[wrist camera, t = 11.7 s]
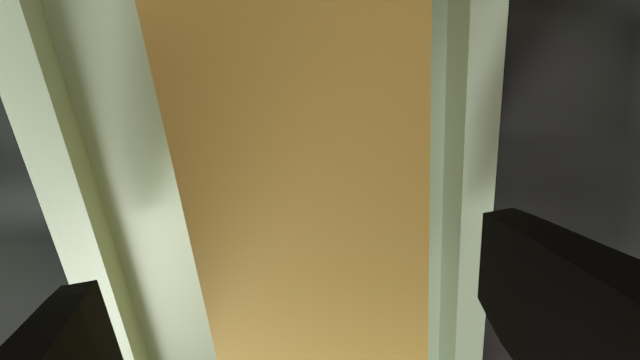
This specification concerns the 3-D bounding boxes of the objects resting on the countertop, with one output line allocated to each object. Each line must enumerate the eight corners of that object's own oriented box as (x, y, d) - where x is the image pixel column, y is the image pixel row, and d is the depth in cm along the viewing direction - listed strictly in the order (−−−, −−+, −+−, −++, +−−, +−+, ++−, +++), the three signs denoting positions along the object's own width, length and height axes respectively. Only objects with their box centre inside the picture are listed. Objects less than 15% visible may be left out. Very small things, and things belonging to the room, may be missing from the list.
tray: (454, 431, 18) (473, 471, 17) (168, 496, 17) (164, 546, 15) (489, -328, 9) (537, -371, 8) (-103, -310, 8) (-165, -357, 7)
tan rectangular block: (357, 369, 15) (425, 576, 10) (254, 390, 15) (276, 615, 10) (324, -94, 10) (433, -114, 5) (163, -79, 10) (114, -86, 5)
